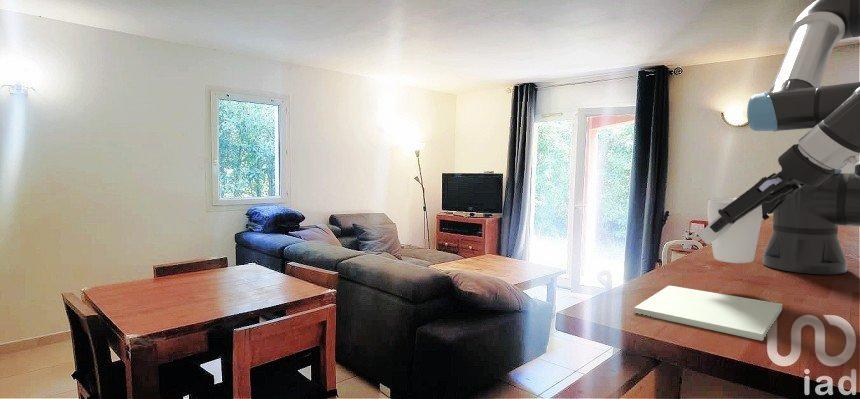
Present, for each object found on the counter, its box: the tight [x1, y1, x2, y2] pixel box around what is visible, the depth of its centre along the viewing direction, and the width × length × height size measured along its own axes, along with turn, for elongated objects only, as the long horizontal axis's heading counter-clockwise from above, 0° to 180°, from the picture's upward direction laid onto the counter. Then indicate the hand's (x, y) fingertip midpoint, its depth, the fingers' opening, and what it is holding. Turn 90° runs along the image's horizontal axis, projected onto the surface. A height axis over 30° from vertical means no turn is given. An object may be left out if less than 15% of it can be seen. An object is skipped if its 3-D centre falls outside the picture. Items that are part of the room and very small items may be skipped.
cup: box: [706, 197, 763, 264], centre depth 87 cm, size 9×9×12 cm
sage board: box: [633, 285, 783, 342], centre depth 76 cm, size 18×18×1 cm
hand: (716, 236), depth 90 cm, fingers closed on cup, 9 cm apart
